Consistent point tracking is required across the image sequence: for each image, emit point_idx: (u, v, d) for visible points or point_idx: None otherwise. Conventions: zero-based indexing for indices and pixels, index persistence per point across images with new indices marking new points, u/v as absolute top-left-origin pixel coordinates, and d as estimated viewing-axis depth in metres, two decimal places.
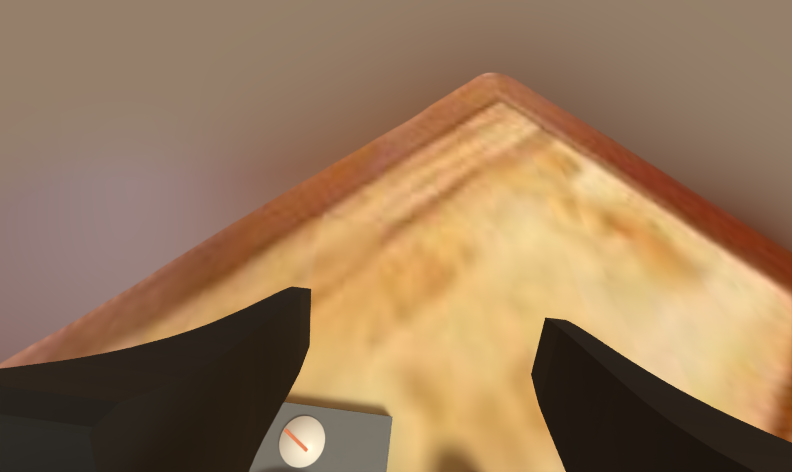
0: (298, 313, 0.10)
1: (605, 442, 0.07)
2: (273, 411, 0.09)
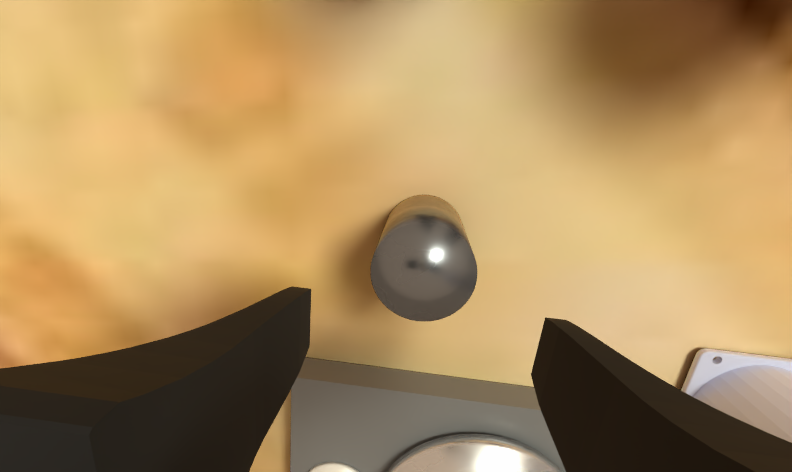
0: (298, 313, 0.10)
1: (605, 442, 0.07)
2: (273, 411, 0.09)
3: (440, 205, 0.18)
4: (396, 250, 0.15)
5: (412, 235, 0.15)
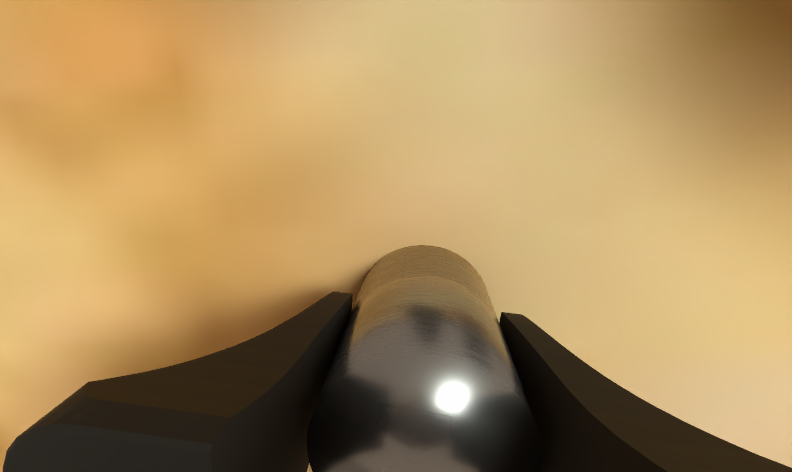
0: (344, 319, 0.10)
1: (541, 433, 0.07)
2: None
3: (453, 274, 0.10)
4: (361, 410, 0.07)
5: (396, 380, 0.07)
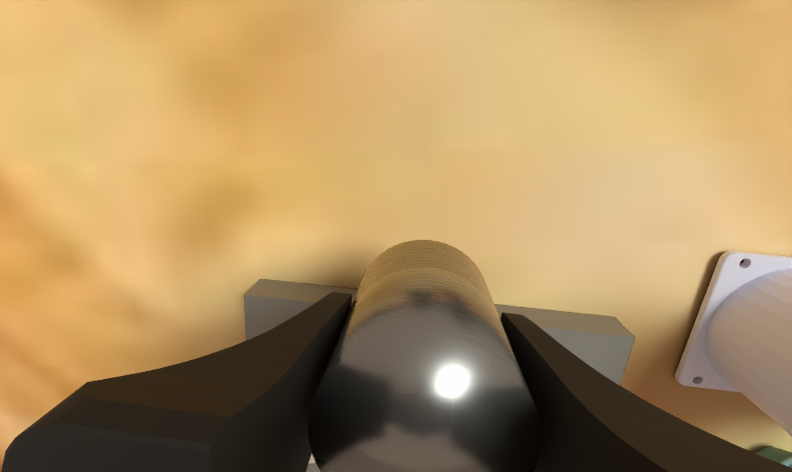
0: (343, 319, 0.10)
1: (542, 433, 0.07)
2: None
3: (451, 266, 0.10)
4: (360, 394, 0.07)
5: (394, 363, 0.07)
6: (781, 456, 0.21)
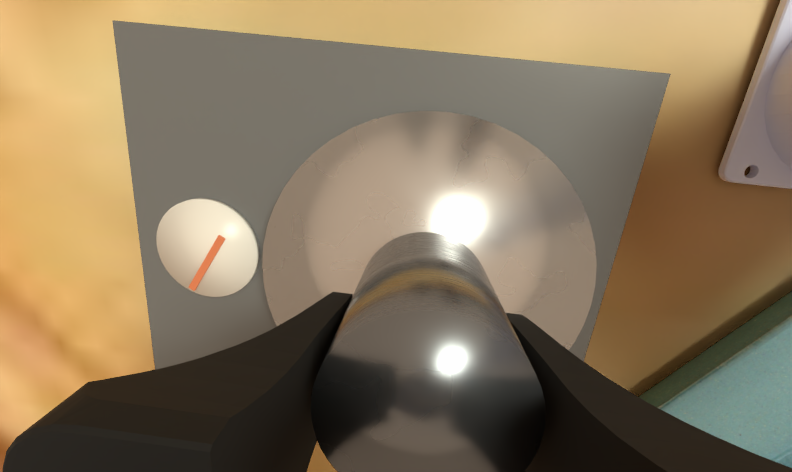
0: None
1: None
2: None
3: (449, 252, 0.10)
4: (361, 373, 0.07)
5: (393, 339, 0.07)
6: None
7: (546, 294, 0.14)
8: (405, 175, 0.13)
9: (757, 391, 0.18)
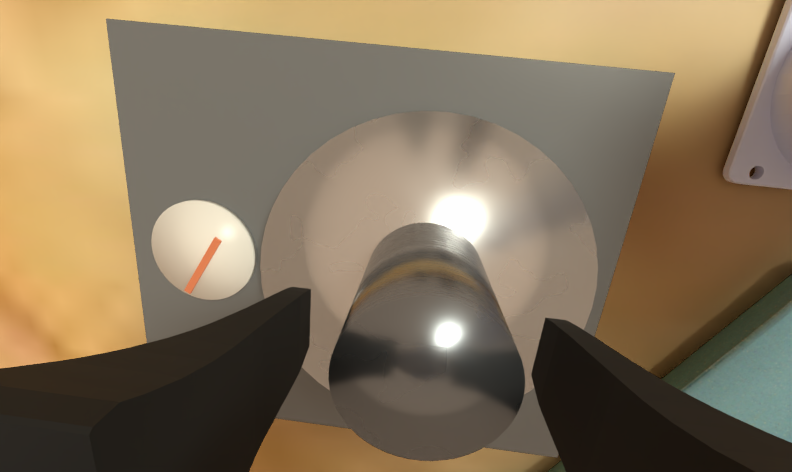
0: (298, 313, 0.10)
1: (605, 442, 0.07)
2: (273, 411, 0.09)
3: (446, 242, 0.11)
4: (371, 348, 0.08)
5: (398, 320, 0.08)
6: None
7: (547, 296, 0.14)
8: (404, 176, 0.13)
9: (753, 389, 0.18)
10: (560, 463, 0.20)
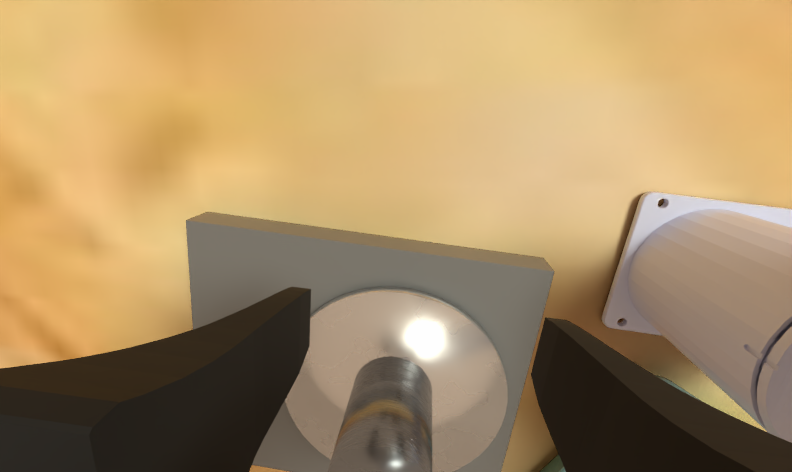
0: (298, 313, 0.10)
1: (605, 442, 0.07)
2: (273, 411, 0.09)
3: (402, 383, 0.18)
4: (348, 470, 0.15)
5: (363, 458, 0.15)
6: None
7: (475, 405, 0.21)
8: (378, 328, 0.20)
9: None
10: None
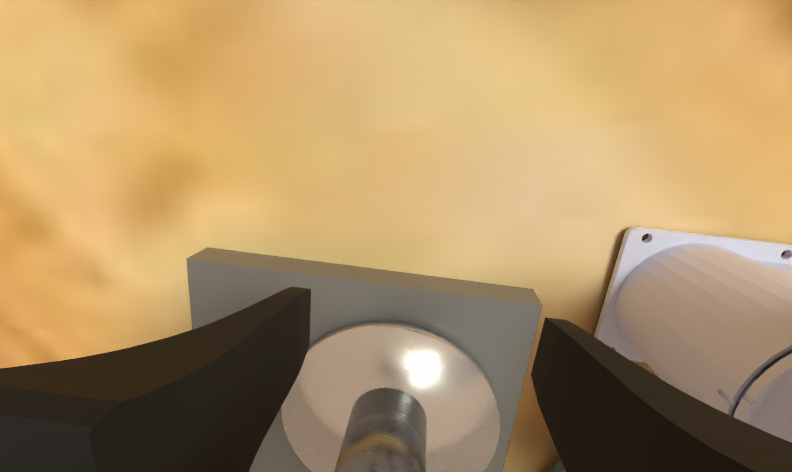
0: (298, 313, 0.10)
1: (605, 442, 0.07)
2: (273, 411, 0.09)
3: (396, 417, 0.19)
4: None
5: None
6: None
7: (468, 433, 0.21)
8: (373, 361, 0.20)
9: None
10: None
